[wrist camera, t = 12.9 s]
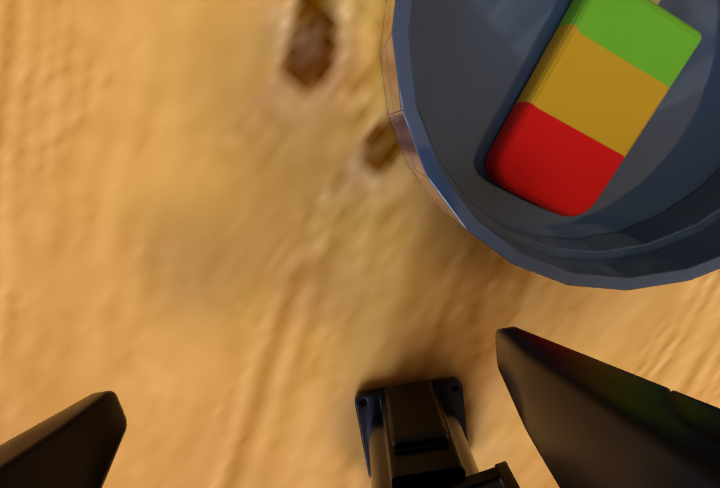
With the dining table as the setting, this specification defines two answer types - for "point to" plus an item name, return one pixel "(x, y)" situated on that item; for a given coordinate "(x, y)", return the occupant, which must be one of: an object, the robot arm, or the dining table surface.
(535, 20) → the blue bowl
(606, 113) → the popsicle
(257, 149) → the dining table surface
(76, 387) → the dining table surface
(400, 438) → the robot arm
